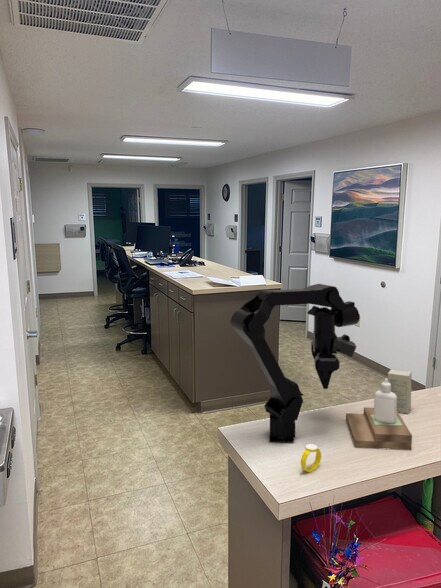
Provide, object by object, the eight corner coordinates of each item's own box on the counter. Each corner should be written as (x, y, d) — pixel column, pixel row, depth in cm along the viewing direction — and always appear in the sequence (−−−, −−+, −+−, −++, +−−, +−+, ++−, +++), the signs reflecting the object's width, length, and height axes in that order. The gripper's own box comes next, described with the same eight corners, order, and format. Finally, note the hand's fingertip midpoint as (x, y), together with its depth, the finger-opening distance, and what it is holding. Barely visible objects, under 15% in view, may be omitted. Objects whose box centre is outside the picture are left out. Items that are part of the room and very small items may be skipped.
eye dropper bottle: (387, 426, 115) (389, 383, 113) (371, 418, 120) (372, 377, 118) (398, 422, 117) (400, 380, 115) (381, 414, 122) (383, 374, 120)
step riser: (354, 447, 113) (355, 432, 113) (345, 419, 129) (346, 406, 128) (411, 449, 111) (412, 434, 111) (395, 421, 127) (395, 407, 126)
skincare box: (411, 409, 135) (412, 371, 132) (408, 414, 131) (410, 376, 129) (389, 405, 138) (390, 368, 136) (386, 410, 134) (387, 372, 132)
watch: (314, 463, 107) (315, 440, 106) (323, 468, 105) (324, 445, 104) (297, 471, 103) (299, 447, 103) (306, 476, 101) (308, 452, 101)
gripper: (360, 338, 111) (358, 396, 114) (349, 321, 129) (347, 371, 132) (315, 338, 112) (315, 395, 115) (310, 321, 131) (310, 370, 133)
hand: (323, 382), depth 124 cm, fingers open, 9 cm apart
